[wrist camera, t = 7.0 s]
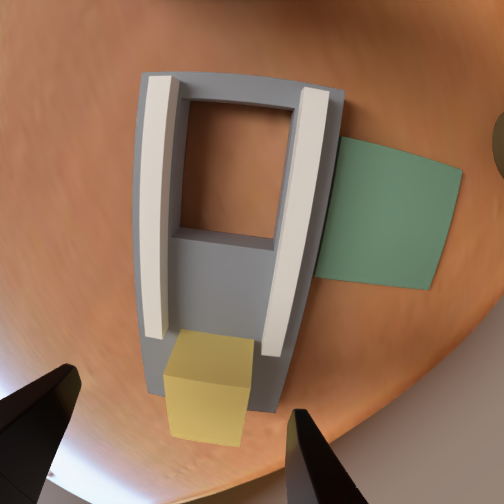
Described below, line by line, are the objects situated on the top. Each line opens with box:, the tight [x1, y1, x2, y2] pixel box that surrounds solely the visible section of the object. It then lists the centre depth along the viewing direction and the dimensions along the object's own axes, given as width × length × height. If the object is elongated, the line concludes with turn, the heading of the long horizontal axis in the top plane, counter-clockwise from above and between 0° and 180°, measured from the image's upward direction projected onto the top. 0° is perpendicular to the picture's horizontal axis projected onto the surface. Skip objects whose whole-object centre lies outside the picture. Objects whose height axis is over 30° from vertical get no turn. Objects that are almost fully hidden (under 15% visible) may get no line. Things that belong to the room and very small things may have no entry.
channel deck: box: [132, 72, 345, 413], centre depth 18 cm, size 24×11×4 cm, turn 173°
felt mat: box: [314, 136, 463, 290], centre depth 18 cm, size 9×9×1 cm
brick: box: [163, 329, 254, 447], centre depth 19 cm, size 7×5×4 cm
